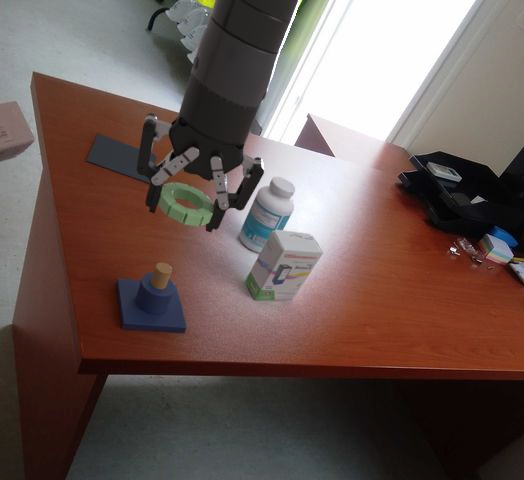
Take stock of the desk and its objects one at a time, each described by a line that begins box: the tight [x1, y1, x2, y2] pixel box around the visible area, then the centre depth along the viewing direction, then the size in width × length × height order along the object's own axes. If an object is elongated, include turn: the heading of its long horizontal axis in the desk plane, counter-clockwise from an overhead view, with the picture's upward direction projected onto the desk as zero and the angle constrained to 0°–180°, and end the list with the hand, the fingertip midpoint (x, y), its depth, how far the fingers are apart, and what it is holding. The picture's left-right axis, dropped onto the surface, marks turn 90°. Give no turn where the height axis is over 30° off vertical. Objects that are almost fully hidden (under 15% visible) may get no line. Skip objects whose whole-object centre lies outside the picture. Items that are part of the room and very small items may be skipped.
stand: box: [116, 262, 187, 334], centre depth 65 cm, size 9×9×8 cm
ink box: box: [244, 229, 324, 301], centre depth 78 cm, size 9×5×12 cm, turn 118°
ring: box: [157, 181, 214, 227], centre depth 55 cm, size 7×7×1 cm
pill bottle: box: [239, 176, 296, 254], centre depth 87 cm, size 8×7×14 cm
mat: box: [85, 133, 157, 185], centre depth 91 cm, size 12×12×1 cm
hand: (180, 218), depth 57 cm, fingers closed on ring, 6 cm apart
